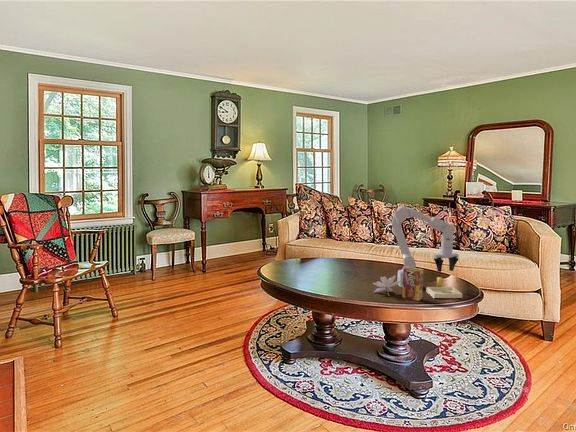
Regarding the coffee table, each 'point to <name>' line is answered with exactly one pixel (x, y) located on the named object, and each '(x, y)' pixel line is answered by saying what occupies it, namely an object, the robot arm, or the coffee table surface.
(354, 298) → the coffee table surface
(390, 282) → the water lily
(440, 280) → the peg
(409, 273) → the candy box
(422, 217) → the robot arm
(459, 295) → the bore box
